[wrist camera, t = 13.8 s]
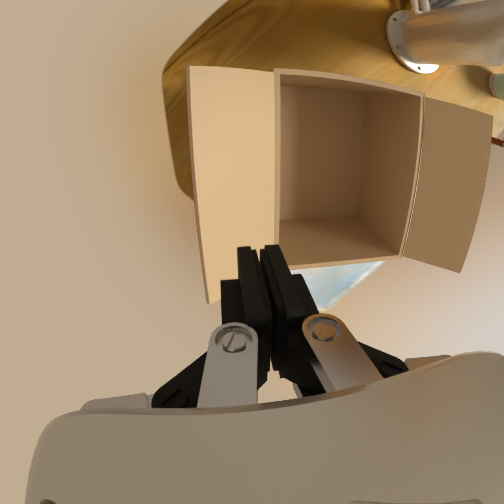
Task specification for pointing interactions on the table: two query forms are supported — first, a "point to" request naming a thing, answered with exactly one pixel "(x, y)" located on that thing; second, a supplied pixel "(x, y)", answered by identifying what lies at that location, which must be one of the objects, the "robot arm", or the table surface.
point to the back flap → (449, 184)
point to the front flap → (231, 165)
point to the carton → (343, 167)
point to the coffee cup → (497, 85)
